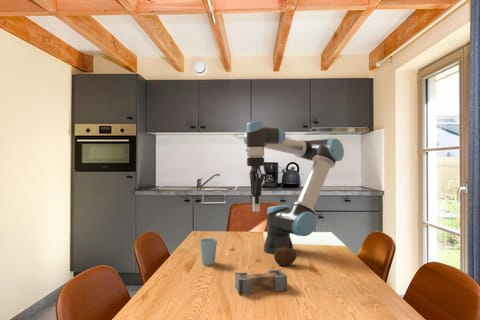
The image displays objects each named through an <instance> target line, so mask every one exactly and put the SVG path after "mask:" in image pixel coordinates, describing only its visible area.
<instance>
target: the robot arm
mask: <svg viewBox="0 0 480 320" xmlns="http://www.w3.org/2000/svg"><path fill="white" fill-rule="evenodd" d="M243 143H244V144H245V145H246V148H247V149H245V152H246V157H247V158H246V166H247V167H251V168H250V169H251V170H250V171H249V180H250V182H249V183H250V194H251V197H252V211H253V212H254V213H255V212H261V210H260V209H261V203H260V201H261V200H260V196H262V189H263V188H262V186H263V184H262V183H263V175H264V173H262V170H261V167H264V166H265V158H264V157H265V149H269V150H273V151H276V152H277V151H278V152H283V153H286V154H291V155H294V156H295V157H297V158H299V159H300V158H301V159H303V160H307V161H313V164H312V166H311V169H310V170H309V173H308V176H307V177H306V180H305V182H304V185H303V187H302V189H301V192H300V193H299V196H298V199H297V200H296V201H295V202H293V203H292V204H291V207H290V205H273V206H268V207H267V209H266V212H267V213H266V238H265V241H264V244H263V251H264V252H265V253H268V254H272V255H274V253H275V251H276V249H277V248H283V247H287V248H289V249H292V250H293V251H294V244H293V241H292V239H291V238H292V237H291V235H295V236H298V237H300V236H301V237H308V236H310V235H311V234H312V233H313V232H314V231H315V229H316V226H317V217H316V216H315V215H316V212H315V210H314V208H315V206H316V203H317V201H318V199H319V196H320V193H321V191H322V189H323V186H324V184H325V181H326V179H327V177H328V174H329V172H330V169H333V168H335V165H336V163H337V162H340V161H342V159H344V155H345V151H344V150H345V149H344V145H343V144H342V142H341V141H340V140H339V139H338V138H331V137H330V138H327V139H326V138H325V139H323V138H322V139H312V140H303V139H299V140H296V139H292V138H287V137H286V132H285V130H284V129H283V128H279V127H267V126H266V127H265V124H264V122H263V121H260V120H259V121H258V120H256V121H255V120H253V121H249V122H247V123H246V132H245V133H244V135H243Z"/></svg>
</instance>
